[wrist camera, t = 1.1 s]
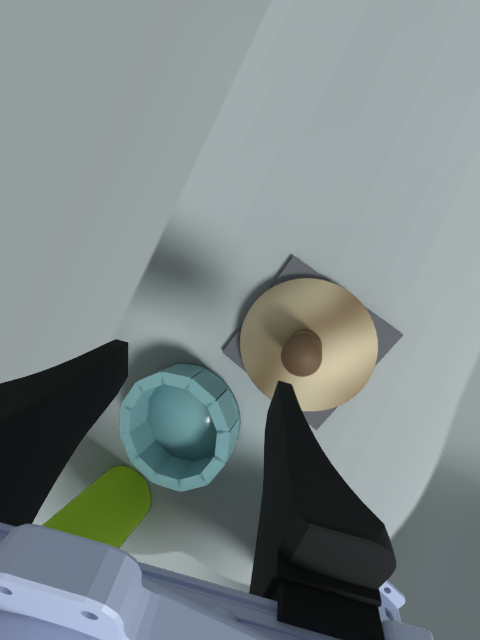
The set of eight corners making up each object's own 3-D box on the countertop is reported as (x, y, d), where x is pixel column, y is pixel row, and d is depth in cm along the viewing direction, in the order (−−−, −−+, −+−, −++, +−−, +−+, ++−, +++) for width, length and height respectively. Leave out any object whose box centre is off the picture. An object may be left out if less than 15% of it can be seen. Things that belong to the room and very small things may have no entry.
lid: (407, 334, 21) (431, 346, 17) (316, 433, 24) (315, 467, 19) (293, 252, 23) (286, 242, 18) (219, 352, 25) (196, 365, 21)
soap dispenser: (111, 530, 31) (-230, 916, 12) (96, 467, 31) (-278, 756, 12) (159, 529, 29) (-149, 979, 10) (143, 463, 29) (-202, 793, 10)
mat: (401, 334, 22) (403, 335, 21) (316, 427, 24) (316, 430, 24) (294, 256, 23) (293, 255, 23) (223, 351, 26) (222, 352, 25)
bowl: (262, 412, 25) (253, 431, 22) (200, 486, 28) (183, 513, 24) (178, 341, 27) (157, 348, 23) (126, 417, 29) (101, 433, 26)
